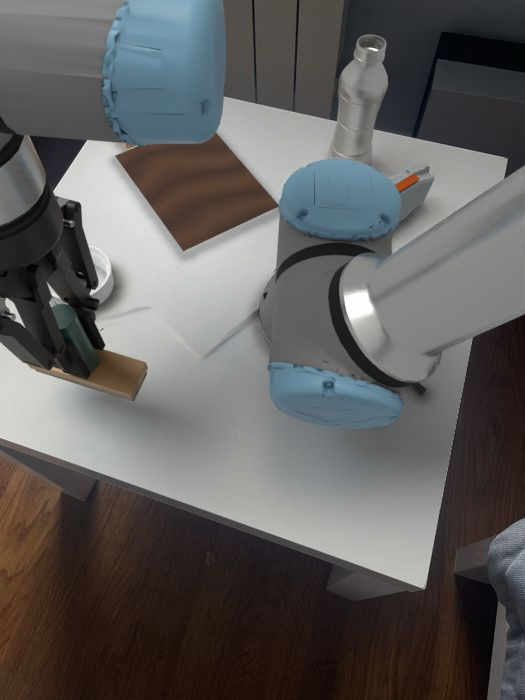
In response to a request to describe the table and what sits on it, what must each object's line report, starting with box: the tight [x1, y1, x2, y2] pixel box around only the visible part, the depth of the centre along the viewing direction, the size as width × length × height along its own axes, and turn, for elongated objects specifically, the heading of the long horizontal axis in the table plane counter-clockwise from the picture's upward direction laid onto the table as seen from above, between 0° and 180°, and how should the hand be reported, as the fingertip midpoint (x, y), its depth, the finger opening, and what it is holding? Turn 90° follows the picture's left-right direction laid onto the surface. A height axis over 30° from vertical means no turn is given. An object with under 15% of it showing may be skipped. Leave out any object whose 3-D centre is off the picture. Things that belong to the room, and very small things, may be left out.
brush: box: [27, 303, 149, 403], centre depth 54 cm, size 4×12×12 cm, turn 72°
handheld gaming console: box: [389, 162, 436, 223], centre depth 75 cm, size 14×3×8 cm, turn 128°
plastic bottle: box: [327, 34, 389, 166], centre depth 75 cm, size 6×7×20 cm
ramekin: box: [47, 244, 115, 306], centre depth 70 cm, size 9×9×4 cm
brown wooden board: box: [114, 132, 279, 252], centre depth 81 cm, size 22×16×1 cm
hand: (84, 358), depth 56 cm, fingers closed on brush, 3 cm apart
